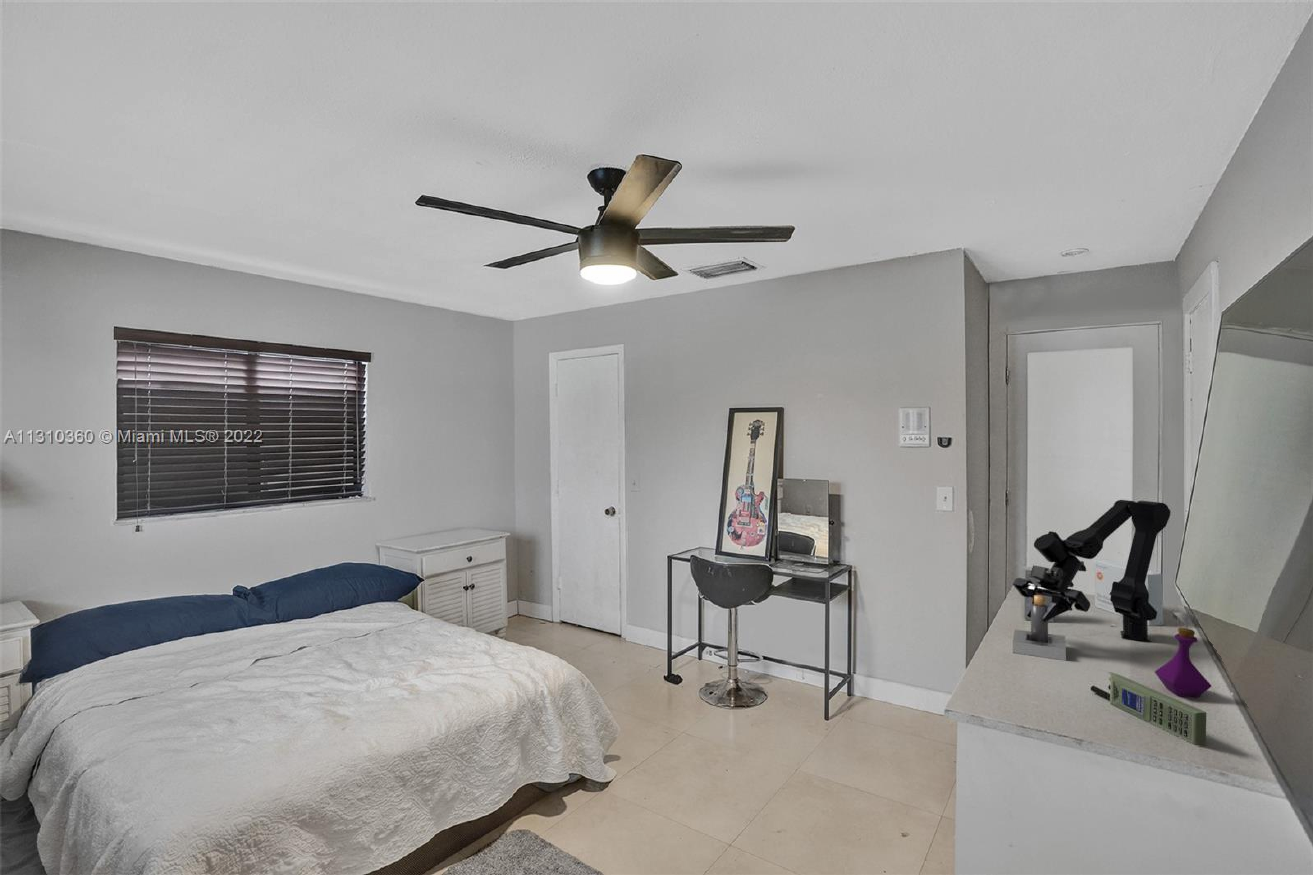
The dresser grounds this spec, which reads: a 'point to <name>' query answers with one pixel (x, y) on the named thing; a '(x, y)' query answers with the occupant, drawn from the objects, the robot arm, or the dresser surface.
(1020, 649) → the socket plate
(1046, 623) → the plug
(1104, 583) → the skincare box
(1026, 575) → the skincare box
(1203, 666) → the dresser surface
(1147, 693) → the handheld radio
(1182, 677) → the perfume bottle
